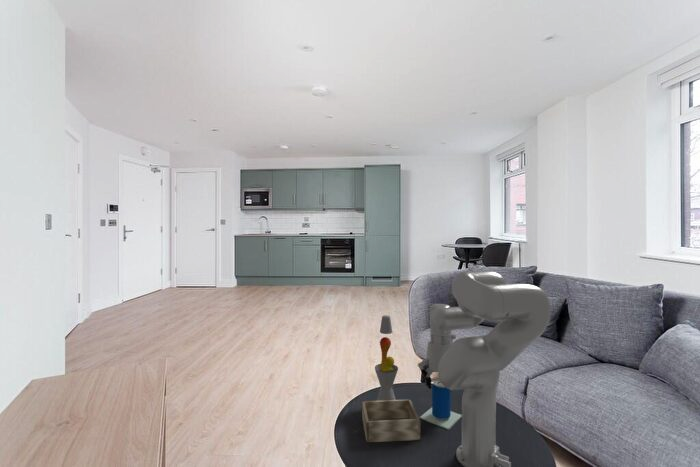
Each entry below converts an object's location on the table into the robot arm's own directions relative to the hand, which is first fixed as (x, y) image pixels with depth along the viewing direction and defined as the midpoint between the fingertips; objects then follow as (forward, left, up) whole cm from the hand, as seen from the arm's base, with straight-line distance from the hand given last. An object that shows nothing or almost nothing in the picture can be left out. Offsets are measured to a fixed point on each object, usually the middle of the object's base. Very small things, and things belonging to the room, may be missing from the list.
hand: (442, 386), depth 125 cm
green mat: (+1, -1, -12) cm, 12 cm away
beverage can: (+1, -1, -11) cm, 11 cm away
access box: (+11, +17, -12) cm, 24 cm away
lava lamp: (+20, +6, -12) cm, 24 cm away
